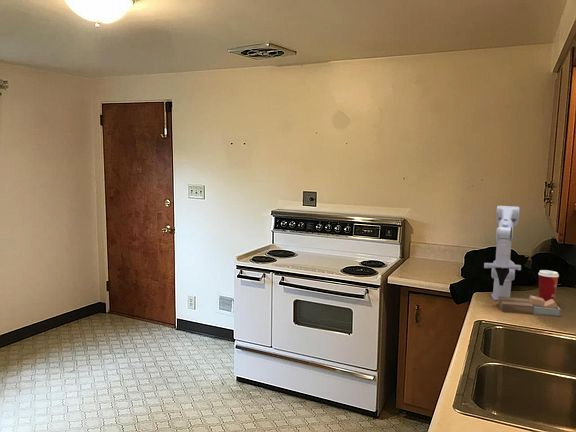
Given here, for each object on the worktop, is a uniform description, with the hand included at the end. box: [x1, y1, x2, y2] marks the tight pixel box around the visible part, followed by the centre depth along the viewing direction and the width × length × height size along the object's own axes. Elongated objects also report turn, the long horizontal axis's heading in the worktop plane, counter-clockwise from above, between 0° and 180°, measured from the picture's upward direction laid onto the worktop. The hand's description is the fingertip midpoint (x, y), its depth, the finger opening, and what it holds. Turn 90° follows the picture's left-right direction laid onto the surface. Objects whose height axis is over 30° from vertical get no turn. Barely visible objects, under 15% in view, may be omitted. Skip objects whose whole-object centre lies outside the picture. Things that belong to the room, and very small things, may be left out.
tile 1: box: [528, 294, 545, 307], centre depth 209 cm, size 5×5×2 cm
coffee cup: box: [537, 269, 560, 302], centre depth 219 cm, size 8×8×15 cm
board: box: [497, 296, 534, 315], centre depth 212 cm, size 12×12×4 cm
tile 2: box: [543, 299, 559, 309], centre depth 208 cm, size 5×5×2 cm
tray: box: [532, 304, 562, 317], centre depth 209 cm, size 11×10×3 cm
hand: (501, 285), depth 213 cm, fingers closed
